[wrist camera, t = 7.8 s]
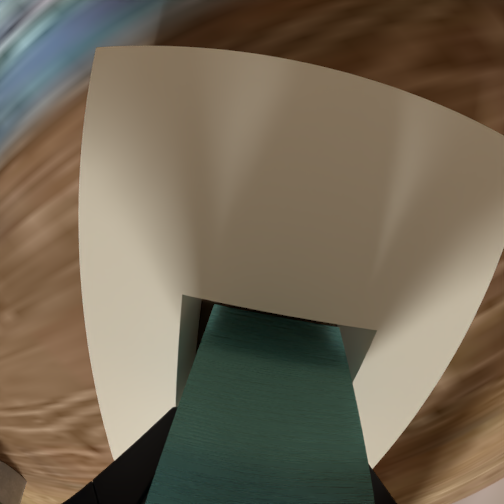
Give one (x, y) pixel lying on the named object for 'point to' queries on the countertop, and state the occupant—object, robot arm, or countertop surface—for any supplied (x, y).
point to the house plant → (10, 485)
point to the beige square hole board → (277, 223)
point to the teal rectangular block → (265, 418)
